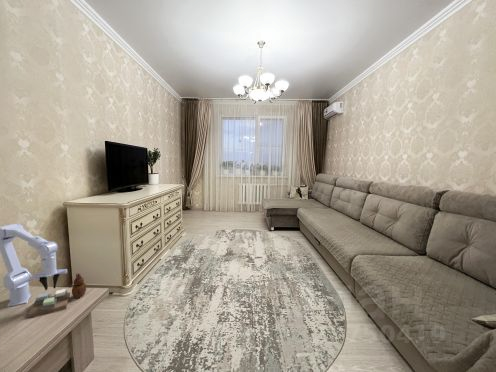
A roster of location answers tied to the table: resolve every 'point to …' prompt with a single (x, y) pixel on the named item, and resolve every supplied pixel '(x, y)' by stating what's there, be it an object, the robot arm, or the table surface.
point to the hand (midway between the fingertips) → (50, 288)
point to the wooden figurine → (78, 287)
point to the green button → (49, 301)
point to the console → (58, 305)
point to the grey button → (43, 296)
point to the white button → (60, 292)
